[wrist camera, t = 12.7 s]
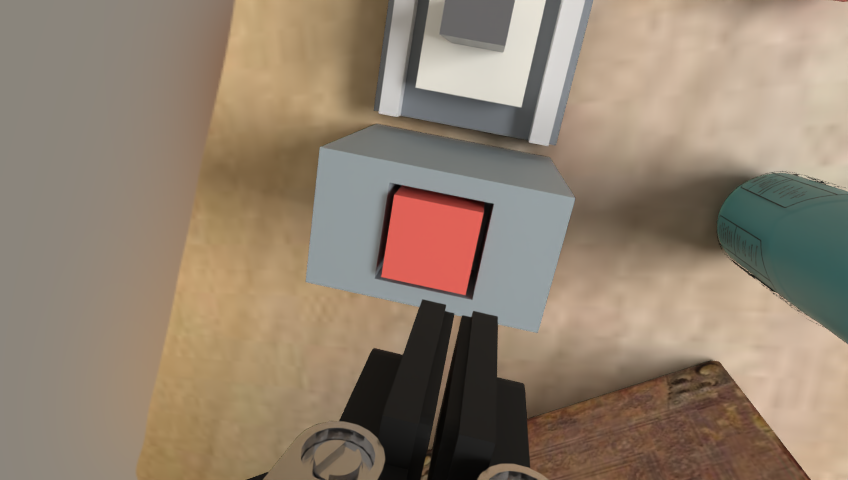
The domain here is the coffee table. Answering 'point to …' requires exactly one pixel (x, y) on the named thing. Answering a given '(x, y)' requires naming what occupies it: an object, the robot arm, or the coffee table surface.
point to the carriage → (480, 48)
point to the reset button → (432, 239)
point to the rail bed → (528, 122)
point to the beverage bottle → (792, 242)
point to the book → (660, 434)
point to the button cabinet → (450, 174)
